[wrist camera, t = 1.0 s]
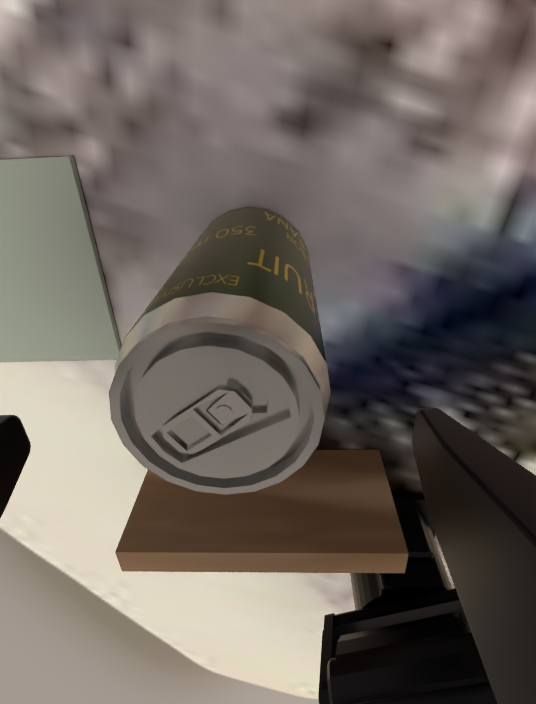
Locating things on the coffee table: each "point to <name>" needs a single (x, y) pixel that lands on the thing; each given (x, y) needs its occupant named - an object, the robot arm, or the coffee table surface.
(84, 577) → the coffee table surface
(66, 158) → the mat
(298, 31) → the coffee table surface
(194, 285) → the beer can
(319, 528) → the stand
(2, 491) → the robot arm
